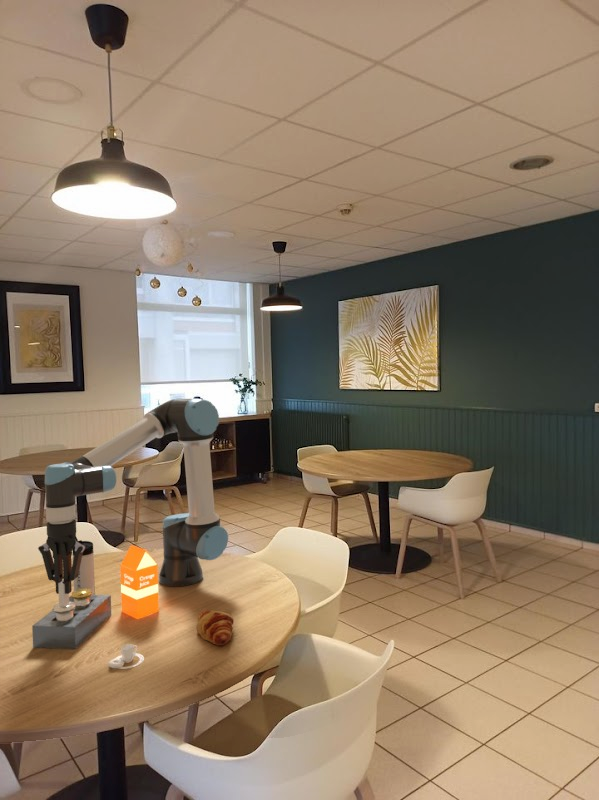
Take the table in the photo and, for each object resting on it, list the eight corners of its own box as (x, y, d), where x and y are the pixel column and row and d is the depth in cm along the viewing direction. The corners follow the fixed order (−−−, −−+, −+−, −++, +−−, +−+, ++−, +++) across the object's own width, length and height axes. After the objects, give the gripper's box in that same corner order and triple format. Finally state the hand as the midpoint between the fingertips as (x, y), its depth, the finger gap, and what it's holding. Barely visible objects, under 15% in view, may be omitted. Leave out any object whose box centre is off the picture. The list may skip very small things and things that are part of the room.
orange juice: (136, 619, 170) (134, 553, 170) (121, 611, 176) (119, 547, 175) (159, 611, 176) (157, 547, 175) (143, 603, 182) (141, 541, 181)
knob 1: (80, 629, 161) (79, 601, 161) (70, 638, 156) (69, 609, 155) (61, 629, 162) (60, 601, 162) (50, 638, 156) (49, 609, 156)
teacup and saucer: (109, 674, 140) (109, 657, 140) (106, 659, 147) (106, 644, 147) (146, 666, 143) (145, 650, 143) (141, 652, 151) (141, 637, 150)
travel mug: (89, 598, 187) (87, 538, 186) (98, 604, 182) (96, 542, 181) (70, 604, 182) (68, 542, 182) (79, 610, 178) (77, 546, 177)
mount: (111, 614, 174) (110, 595, 174) (75, 649, 152) (74, 627, 152) (73, 613, 175) (73, 594, 175) (33, 647, 154) (32, 625, 153)
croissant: (197, 632, 169) (183, 611, 167) (226, 611, 172) (213, 590, 171) (215, 663, 149) (200, 639, 148) (247, 639, 153) (233, 615, 151)
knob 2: (96, 614, 171) (95, 588, 171) (87, 622, 166) (86, 595, 165) (78, 614, 172) (77, 588, 171) (69, 622, 166) (68, 595, 166)
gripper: (90, 517, 160) (93, 600, 161) (46, 516, 162) (49, 598, 163) (77, 524, 153) (80, 610, 154) (31, 523, 154) (34, 609, 155)
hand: (64, 604), depth 158 cm, fingers closed
